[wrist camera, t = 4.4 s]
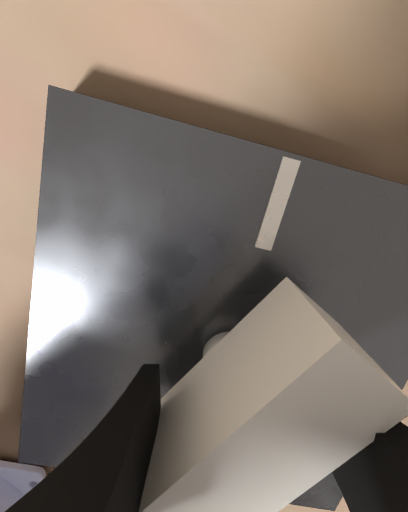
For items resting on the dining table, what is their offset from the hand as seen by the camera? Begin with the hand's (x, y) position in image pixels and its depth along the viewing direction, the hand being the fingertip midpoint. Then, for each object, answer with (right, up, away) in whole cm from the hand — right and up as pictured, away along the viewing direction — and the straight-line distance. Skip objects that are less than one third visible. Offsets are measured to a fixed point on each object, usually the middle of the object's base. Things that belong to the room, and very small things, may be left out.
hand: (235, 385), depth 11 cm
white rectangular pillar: (0, +1, +2) cm, 2 cm away
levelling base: (0, +1, +3) cm, 4 cm away
